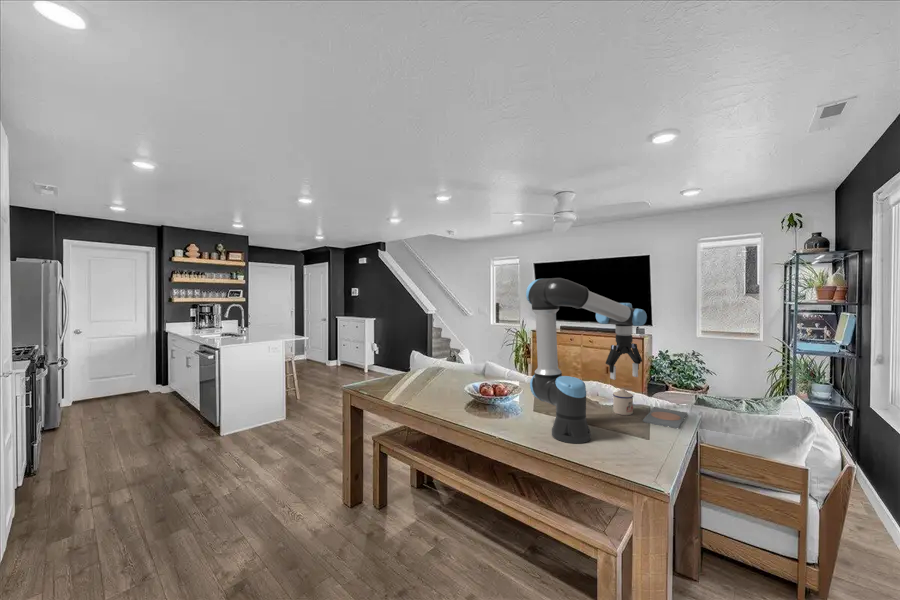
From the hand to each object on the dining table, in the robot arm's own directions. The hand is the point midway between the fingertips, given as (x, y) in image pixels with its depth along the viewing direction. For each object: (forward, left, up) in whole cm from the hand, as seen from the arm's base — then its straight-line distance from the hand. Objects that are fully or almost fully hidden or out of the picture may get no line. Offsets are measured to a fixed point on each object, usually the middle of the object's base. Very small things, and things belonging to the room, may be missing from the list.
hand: (624, 377), depth 186 cm
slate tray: (+11, -14, -17) cm, 24 cm away
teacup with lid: (0, 0, -17) cm, 17 cm away
